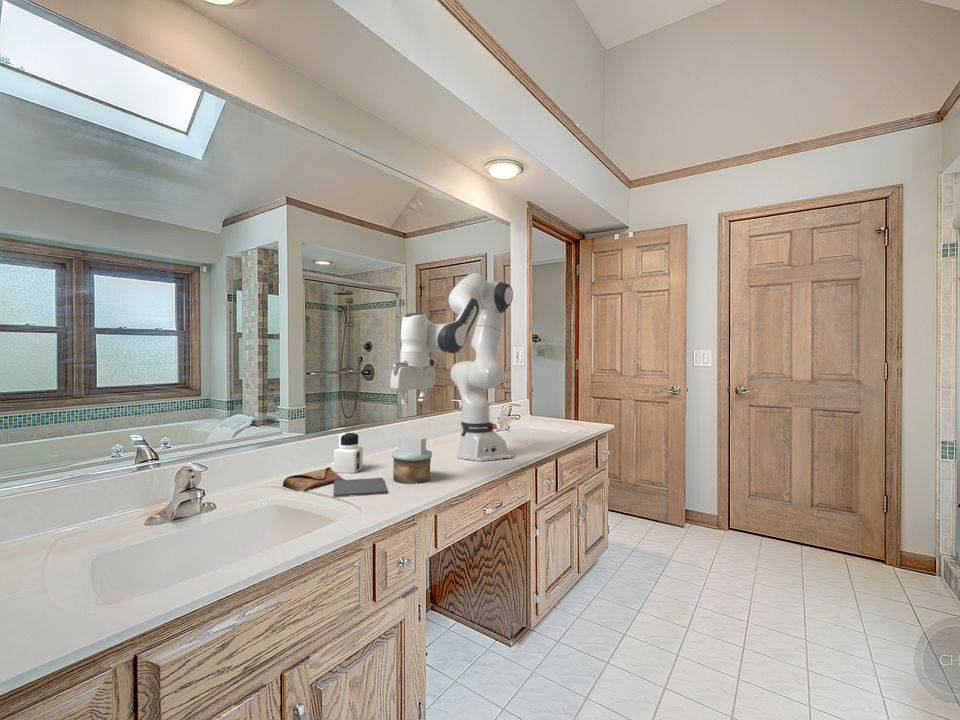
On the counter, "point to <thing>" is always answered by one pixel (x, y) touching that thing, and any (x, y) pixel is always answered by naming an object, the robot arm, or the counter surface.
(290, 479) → the sunglasses case
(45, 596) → the counter surface
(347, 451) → the container
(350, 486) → the mat
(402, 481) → the canister
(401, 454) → the lid
